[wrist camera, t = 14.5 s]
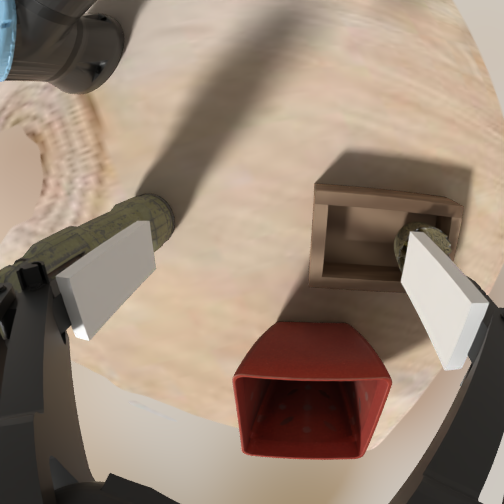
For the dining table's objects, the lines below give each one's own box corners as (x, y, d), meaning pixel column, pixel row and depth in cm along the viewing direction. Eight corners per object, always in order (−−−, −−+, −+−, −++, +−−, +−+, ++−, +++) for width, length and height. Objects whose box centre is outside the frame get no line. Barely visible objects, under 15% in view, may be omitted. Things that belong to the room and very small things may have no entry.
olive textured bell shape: (391, 267, 41) (406, 293, 34) (377, 222, 39) (392, 241, 32) (434, 249, 39) (456, 272, 32) (423, 203, 37) (446, 219, 30)
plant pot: (373, 305, 45) (395, 378, 30) (356, 388, 52) (362, 459, 36) (255, 302, 49) (230, 373, 33) (259, 384, 55) (242, 454, 40)
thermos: (190, 207, 45) (-1, 350, 13) (155, 262, 49) (5, 409, 17) (147, 173, 44) (-64, 259, 12) (116, 230, 48) (-50, 343, 16)
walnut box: (314, 183, 40) (315, 190, 35) (445, 197, 37) (463, 206, 31) (308, 268, 45) (308, 287, 39) (431, 276, 42) (444, 294, 36)
